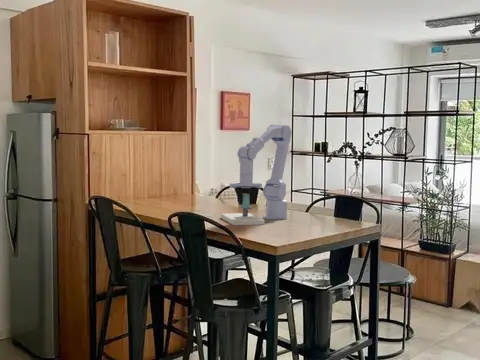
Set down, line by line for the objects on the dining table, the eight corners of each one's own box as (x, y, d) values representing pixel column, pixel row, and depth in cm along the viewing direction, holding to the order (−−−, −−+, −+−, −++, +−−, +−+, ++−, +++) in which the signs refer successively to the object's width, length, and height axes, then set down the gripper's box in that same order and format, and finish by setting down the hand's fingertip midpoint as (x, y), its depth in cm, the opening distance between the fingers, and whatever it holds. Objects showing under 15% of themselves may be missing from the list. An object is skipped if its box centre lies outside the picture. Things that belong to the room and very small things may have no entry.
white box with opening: (249, 217, 256) (249, 203, 255) (264, 224, 237) (264, 209, 236) (220, 217, 252) (221, 204, 251) (233, 225, 233) (234, 210, 232)
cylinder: (247, 207, 242) (248, 193, 242) (250, 208, 239) (251, 194, 238) (239, 207, 241) (239, 193, 241) (242, 208, 237) (242, 194, 237)
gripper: (258, 173, 245) (257, 203, 246) (227, 172, 240) (226, 203, 241) (264, 174, 238) (263, 205, 239) (232, 174, 233) (231, 205, 234)
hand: (245, 204), depth 240 cm, fingers closed on cylinder, 4 cm apart
